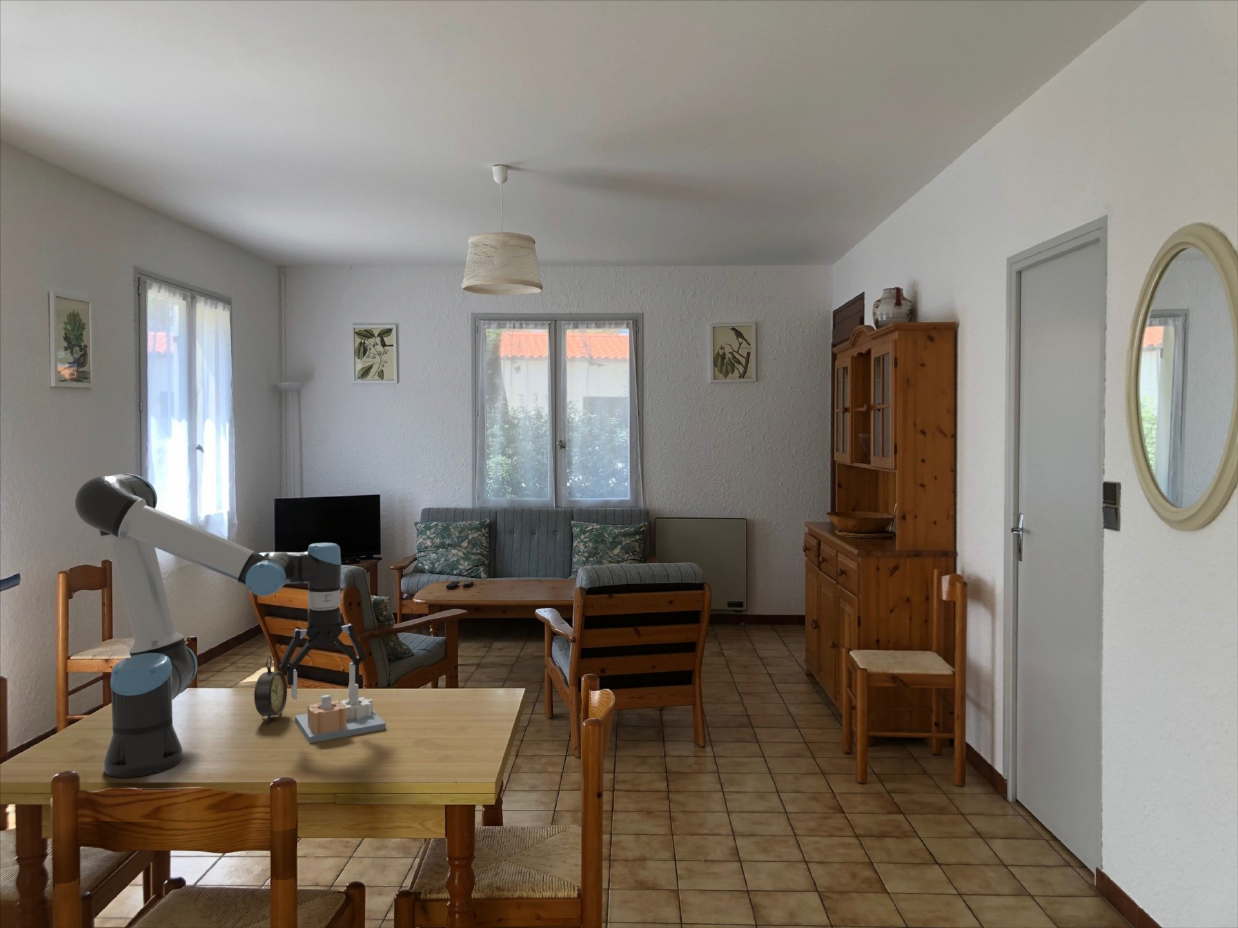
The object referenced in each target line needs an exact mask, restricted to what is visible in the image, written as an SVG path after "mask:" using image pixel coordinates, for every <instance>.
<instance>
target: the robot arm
mask: <svg viewBox="0 0 1238 928" xmlns="http://www.w3.org/2000/svg"><path fill="white" fill-rule="evenodd" d="M74 500H75V501H74V505H75V510H76V512H77V514H78V517H79V518H80V519H81V520H82V521H83V522H84V523H86V524H87V525H89V526H90V527H91V528H94V529H96V530H99V535H100V537H101V539H104V540H105V541H107V542H109V543H110V545H111V546H110V547H111V551H112V553H113V559H114V562H115V567H116V571H117V574H118V578H119V583H120V586H121V591H122V595H123V599H124V604H125V608H126V612H127V615H128V619H129V624H130V627H131V628H130V629H131V631H132V636H133V639H134V642H133V644H132V645H131V647H130V649H129V650H128V651H129V655H130V657H126V658H124V659H122V660H119V661H118V662H117V663H116V664H115V665H114V666H113V667H112V670H111V677H110V681H109V684H110V695H111V697H110V698H111V722H112V737H111V739H110V743H109V746H108V748H107V751H106V754H105V756H104V757H105V759H104V761H103V762H104V763H103V764H104V767H103V768H104V774H106V775H107V776H109V777H113V778H135V777H144V776H147V775H154V774H157V773H160V772H163V771H166V770H169V769H171V768H173V767H175V766H177V765H179V764H180V763H181V761H182V760H183V748H182V744H181V742H180V740H179V738H178V735H177V733H176V730H175V728H174V726H173V724H174V723H173V720H174V719H173V701H174V700H175V699H176V697H178V696H179V695H180V694H182V693H183V692H185V691H186V690H187V689H188V688H189V687H190V685H191V684H192V683H193V681H194V679H195V677H196V674H197V670H198V660H197V657H196V655H195V654H194V652H193V650H191V648H189V647H188V646H187V643H186V639H185V636H184V634H181V633H179V632H178V631H176V629H175V625H174V621H173V617H172V613H171V608H170V603H169V601H168V595H167V592H166V588H165V584H164V579H163V576H162V571H161V567H160V564H159V559H158V555H157V551H156V549H158V550H161V551H162V552H165V553H168V554H170V555H172V556H174V557H176V558H180V559H182V560H185V561H187V562H190V563H191V564H194V565H196V566H199V567H200V568H204V569H206V570H209V571H211V572H213V573H215V574H217V575H220V576H223V577H225V578H228V579H230V580H232V581H234V582H237V583H240V584H242V585H244V586H246V587H247V589H248V591H250V593H252V594H254V595H256V596H259V597H266V596H270V595H273V594H276V593H277V592H279V591H280V590H281V589H282V587H284V586H286V585H287V584H307V606H308V607H309V608H308V609H307V626H306V627H307V628H306V629H299V628H294V629H293V631H292V638H291V640H290V642H289V644H288V646H287V649H286V651H285V652H284V654H283V656H282V658H281V660H280V662H279V664H278V667H279V669H280V670H281V671H285V672H286V684H287V686H291V698H292V699H293V700H298V672H297V670H296V668H297V667H298V666H299V665H300V664H301V663H302V661H303V660H304V659H305V657H306V656H307V655H308V654H309V652H310V651H312V649H314V647H324V646H332V645H334V644H336V645H337V646H338V647H339V648H340V649H341V651H342V652H343V653H344V654H345V655H346V656H347V657H348V658H349V659H350V660H351V661H352V662H349V663H348V665H349V667H348V670H349V671H348V672H349V673H348V674H349V676H348V678H349V680H348V681H349V682H348V685H349V688H348V690H349V689H350V690H351V691H352V692H353V691H355V684H356V677H359V676H360V664H361V663H362V662H366V661H367V659H368V657H367V655H366V653H365V651H364V649H363V647H362V645H361V643H360V641H359V639H358V638H357V636H356V633H355V626H354V625H353V624H352V623H347V624H345V625H341V608H340V606H341V602H342V601H341V590H342V589H341V582H342V581H341V578H342V559H341V558H342V557H341V548H340V545H339V544H337V543H333V542H316V543H311V544H309V545H308V549H307V550H306V551H301V552H300V551H299V552H298V551H297V552H296V551H294V552H293V551H292V552H291V551H289V552H288V551H286V552H285V551H267V552H266V551H265V552H256V551H254V550H251V549H249V548H247V547H245V546H243V545H240V544H238V543H235V542H233V541H231V540H229V539H227V538H224V537H221V536H219V535H217V534H214V533H212V532H209V531H207V530H205V529H203V528H201V527H199V526H197V525H196V526H195V525H193V524H191V523H189V522H186V521H184V520H182V519H179V518H177V517H175V516H173V515H171V514H168V513H166V512H163V511H161V510H159V509H157V508H156V507H157V504H158V495H157V491H156V489H155V488H154V486H153V485H152V484H151V482H150V481H148V480H147V479H145V478H144V477H142V476H140V475H137V474H132V473H131V474H130V473H117V474H111V475H102V476H101V475H100V476H97V477H93V478H91V479H89V480H87V481H86V482H84V483H83V484H82V486H80V487H79V489H78V491H77V493H76V496H75V499H74ZM342 632H344V633H345V634H346V635H347V636H348V638H349V639H350V641H351V643H352V645H353V648H354V649H355V651H356V653H357V654H358V656H356V655H355V654H354V653H353V652H352V651H351V650H350V649H349V648H348V647H347V646H346V644H345V643H344V642H343V641H342V640H341V639H340V638H339V637H340V635H342ZM304 636H307V637H308V639H307V640H306V642H305V644H304V645H303V646H302V648H301V649H300V650H299V651H298V652H297V654H295V656H294V657H293V655H294V653H295V651H296V649H297V647H298V646H299V643H300V641H301V639H303V638H304ZM292 657H293V659H292ZM291 659H292V660H291Z"/></svg>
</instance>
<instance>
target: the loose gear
mask: <svg viewBox="0 0 1238 928" xmlns="http://www.w3.org/2000/svg"><path fill="white" fill-rule="evenodd" d="M340 701H341V700H335V701H334V700H331V706H332V709H326V710H322V709H321V702H317V703H314V704H308V705H307V714H308V726H309V729H310V730H311V732H313V734H318V733H327V732H332V731H338V730H340V729H345V728H347V722H346V707H345V705H344V704H343V703H342V702H340Z"/></svg>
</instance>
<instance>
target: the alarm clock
mask: <svg viewBox="0 0 1238 928" xmlns="http://www.w3.org/2000/svg"><path fill="white" fill-rule="evenodd" d="M269 659H270V662H269ZM272 660H273V659H272V656H271V655H268V656H267V658H266V663H265V665H266V666H265V667H266V670H267V671H266V672H263V673H261V674H260V675H259V677H258V678H257V679H256V683H255V686H254V694H253V695H254V696H253V699H254V705H255V710H256V712H257V713H258V714H259V715H260V716H261V718H264V717H267V718H266V720H267V721H266V725H268V724H270V720H271V716H279V715H281V714H282V712H283V711H284V709H285V707H286V702H287V699H288V698H287V697H288V683H287V678H286V677H285V675H284V673H283V672H282V671H280V670H278V671H272V670H271V669H272V662H273V661H272ZM268 662H269V663H270V664H269V666H268Z"/></svg>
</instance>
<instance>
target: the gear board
mask: <svg viewBox="0 0 1238 928" xmlns="http://www.w3.org/2000/svg"><path fill="white" fill-rule="evenodd" d="M331 701H332V695H331V694H325V695H322V696H320V703H321V709H322V710H326V709H332V706H331ZM340 702H342V703H343V704H344V705H345V707H346V722H347V728H345V729H340V730H338V731H332V732H327V733H318V734H313V732H311V730H310V729H309V726H308V713H302V714H297V715H294V720H295V721H294V722H295V723H296V725H297V727H298V728H299V729H300V731H301V732H302V734H303V735H304V737H305V738H306V740H307V741H308V743H309V744H313V743H319V742H324V741H329V740H334V739H339V738H345V737H350V736H355V735H361V734H367V733H372V732H377V731H378V732H379V731H383V730H387V727H386V726H387V725H386V722H385V720H383V719H382V717H380V716H379V715H378V714H377V713H376V711H375V710H374V709H373V699H372V698H371V699H367V698H366V697H363V696H362V697H359V684H358V683H355V691H353V692H352V691H351V690H350V689H349V684H348V698H347V699H343V700H340Z"/></svg>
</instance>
